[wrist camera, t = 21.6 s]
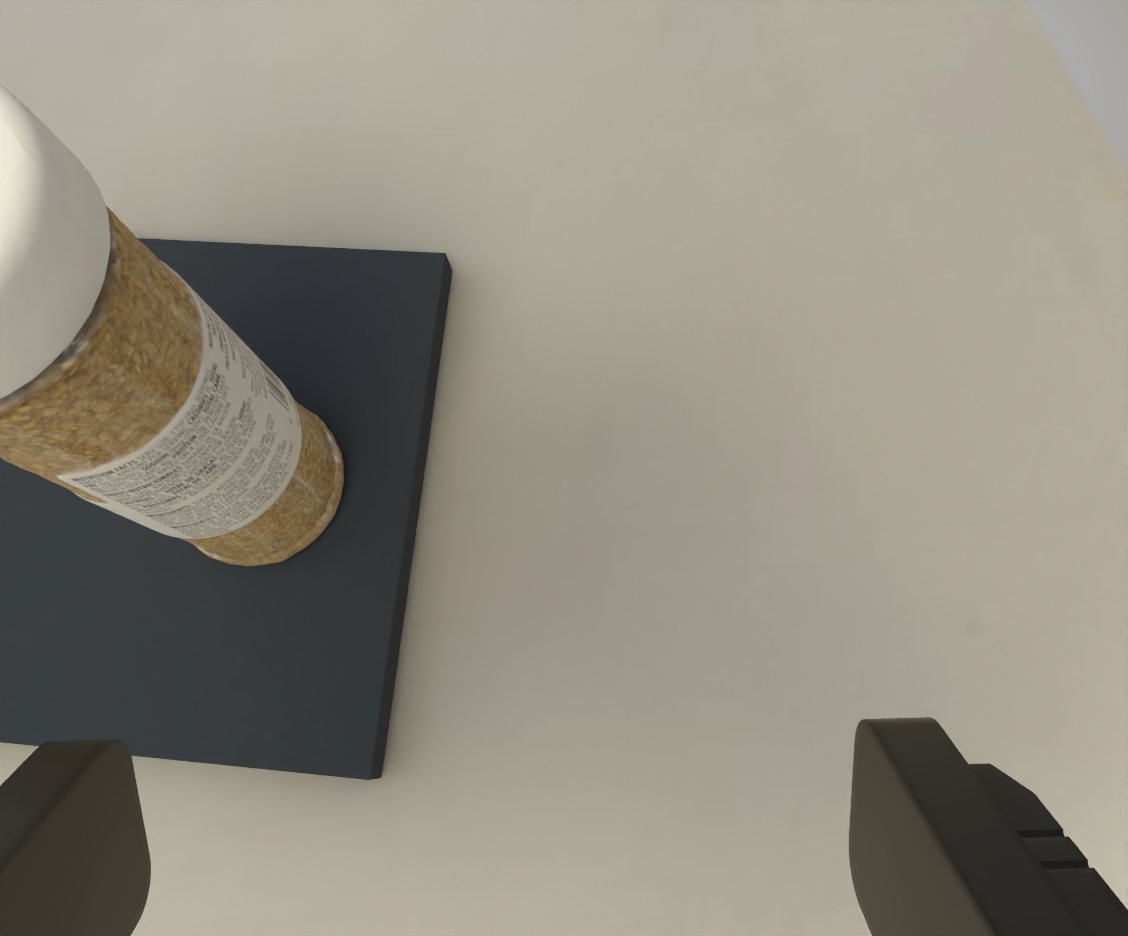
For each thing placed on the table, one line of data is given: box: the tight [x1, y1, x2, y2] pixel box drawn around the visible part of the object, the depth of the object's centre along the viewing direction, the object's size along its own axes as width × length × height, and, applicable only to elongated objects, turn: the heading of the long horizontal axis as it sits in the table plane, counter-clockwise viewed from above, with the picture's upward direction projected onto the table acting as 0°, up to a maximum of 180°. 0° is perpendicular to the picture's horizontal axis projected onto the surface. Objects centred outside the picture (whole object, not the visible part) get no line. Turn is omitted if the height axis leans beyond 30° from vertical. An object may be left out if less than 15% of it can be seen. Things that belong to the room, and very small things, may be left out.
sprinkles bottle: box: [0, 84, 344, 566], centre depth 18 cm, size 5×5×13 cm
